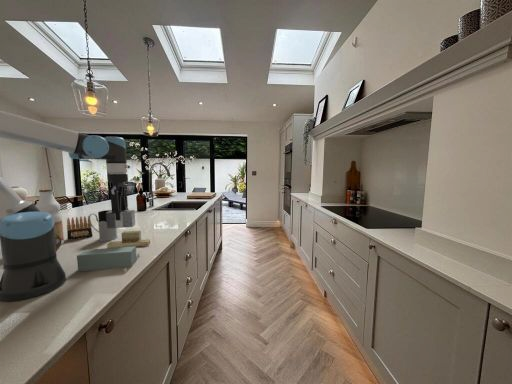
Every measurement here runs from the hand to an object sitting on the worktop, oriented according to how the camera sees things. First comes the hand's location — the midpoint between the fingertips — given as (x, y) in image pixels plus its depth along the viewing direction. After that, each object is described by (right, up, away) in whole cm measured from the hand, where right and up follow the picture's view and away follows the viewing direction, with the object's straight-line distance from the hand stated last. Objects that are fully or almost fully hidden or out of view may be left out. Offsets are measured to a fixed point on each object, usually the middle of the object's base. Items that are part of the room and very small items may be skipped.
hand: (121, 225), depth 98 cm
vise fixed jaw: (+2, -13, -11) cm, 17 cm away
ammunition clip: (-37, -10, +23) cm, 44 cm away
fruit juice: (-41, -12, +11) cm, 44 cm away
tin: (-34, -13, -1) cm, 37 cm away
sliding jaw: (-2, -11, +11) cm, 16 cm away
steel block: (0, 0, 0) cm, 0 cm away
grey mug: (-23, -10, +22) cm, 33 cm away
